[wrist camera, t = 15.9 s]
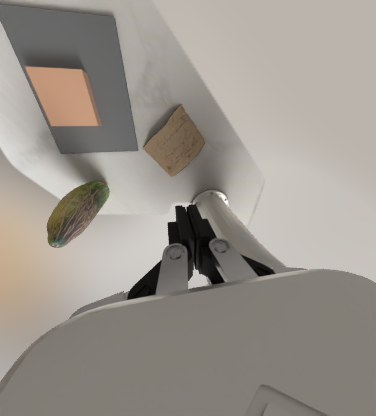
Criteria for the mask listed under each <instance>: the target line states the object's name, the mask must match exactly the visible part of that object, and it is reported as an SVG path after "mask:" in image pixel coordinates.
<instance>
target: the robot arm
mask: <svg viewBox="0 0 376 416" xmlns="http://www.w3.org/2000/svg"><path fill="white" fill-rule="evenodd" d="M175 208H176V222H168V236H169V246H167V247H166V248H165V250H164V252H163V256H162V260H161V261H160V262H159V263H158V264H157V265H155V266H154V267H153V268H152V269H151V270H150V271H149V272H148V273H147V274H146V275H145V276H144V277H143V278H142V279H140V280H139V281H138V282H137V283H136V284H135V285H134V286H133V288H132V289H131V290H130V291H128V292H126V293H124V291H123V292H120V293H117V294H115V295H112V296H110V297H107V298H104V299H102V300H99V301H96V302H94V303H91V304H88V305H86V306H84V307H82V308H80V309H78V310H77V311H76V312H74V313H73V314H72V316H71V317H70V318H69V319H68V320H66V321H65V322H63V323H61V324H59V325H57V326H56V327H54V328H52V329H51V330H49V331H48V332H46V333H45V334H44V335H42V336H41V337H40V338H38V339H37V340H36V341H35V342H34V343H32V344H31V346H29V347H28V349H26V350H25V351H24V353H23V354H22V355H21V356H20V357H19V358H18V359H17V361H16V362H15V363H14V364H13V366H12V367H11V368H10V370H9V371H8V372H7V373H6V375H5V376H4V378H3V379H2V380H1V382H0V416H376V283H375V282H373V281H371V280H369V279H367V278H365V277H363V276H359V275H356V274H352V273H349V272H344V271H338V270H329V269H310V270H308V269H303V268H287V267H286V266H285V265H284V264H283V263H281V262H280V261H279V260H278V259H277V258H276V257H274V256H273V255H272V254H271V253H270V252H269V251H268V250H266V249H265V248H264V247H263V246H262V245H261V244H260V243H259V242H258V241H257V239H256V238H255V237H254V236H253V235H252V234H251V233H250V232H249V230H248V229H247V228H246V227H245V226H244V225H243V223H242V222H241V221H240V220H239V219H238V218H237V216H236V215H235V214H234V213H233V212H232V211H231V209H230V208H229V202H228V199H227V197H226V196H225V195H224V194H223V193H222V192H220V191H218V190H207V191H204V192H202V193H200V194H199V195H198V196H197V197H196V198H195V199H194V200H193V202H192V204H191V205H189V207H187V212H186V209H185V207H182V206H176V207H175ZM194 265H195V269H196V270H198V271H199V274H203V275H205V276H206V279H207V282H208V284H207V285H205V286H203V287H197V288H192V289H188V281H189V280H190V278H191V277H192V276H193V270H194Z"/></svg>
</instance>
